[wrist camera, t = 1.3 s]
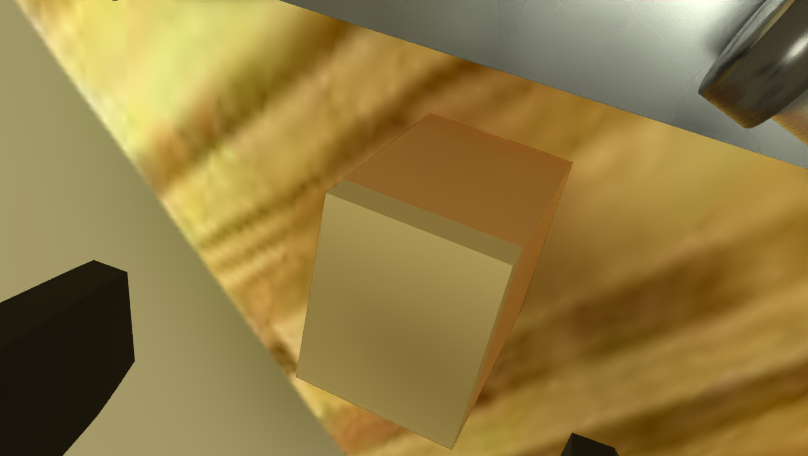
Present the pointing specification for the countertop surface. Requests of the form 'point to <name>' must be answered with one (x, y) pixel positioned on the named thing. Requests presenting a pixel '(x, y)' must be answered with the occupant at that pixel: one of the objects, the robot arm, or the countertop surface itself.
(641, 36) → the base plate
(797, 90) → the shaft
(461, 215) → the block
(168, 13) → the countertop surface
